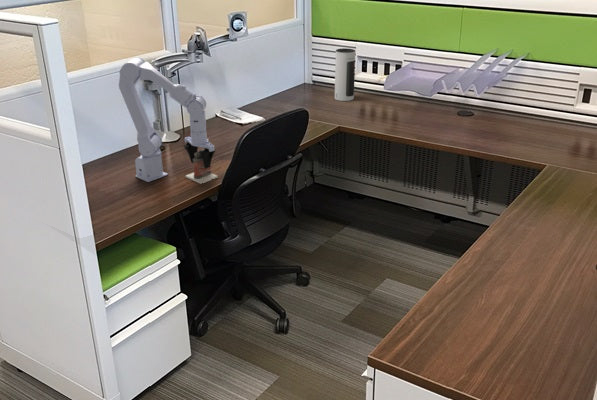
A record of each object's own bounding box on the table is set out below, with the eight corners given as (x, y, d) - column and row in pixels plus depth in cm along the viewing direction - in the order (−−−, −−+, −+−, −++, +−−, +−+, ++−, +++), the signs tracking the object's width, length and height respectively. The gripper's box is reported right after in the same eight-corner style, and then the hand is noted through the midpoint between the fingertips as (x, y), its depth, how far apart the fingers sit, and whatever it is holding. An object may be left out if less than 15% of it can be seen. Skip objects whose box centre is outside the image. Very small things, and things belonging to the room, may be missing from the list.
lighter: (207, 171, 240) (205, 146, 236) (213, 173, 238) (212, 148, 234) (191, 177, 234) (189, 152, 230) (198, 179, 232) (196, 154, 228)
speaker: (340, 102, 326) (342, 52, 315) (330, 97, 334) (331, 48, 323) (357, 99, 331) (359, 50, 320) (346, 94, 339) (348, 46, 328)
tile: (201, 183, 231) (201, 181, 230) (185, 177, 236) (185, 175, 236) (217, 177, 236) (217, 175, 236) (201, 171, 242) (201, 169, 241)
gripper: (220, 131, 227) (221, 166, 232) (194, 123, 235) (196, 157, 241) (205, 136, 222) (207, 172, 228) (179, 127, 230) (181, 162, 236)
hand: (200, 164), depth 234 cm, fingers open, 7 cm apart
